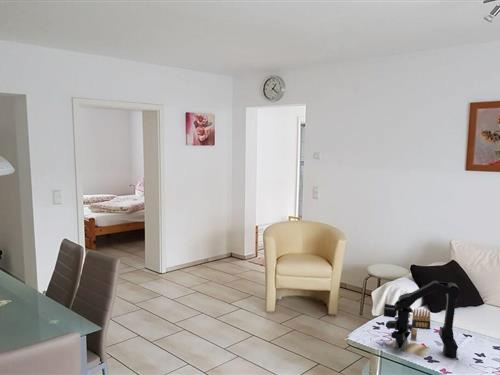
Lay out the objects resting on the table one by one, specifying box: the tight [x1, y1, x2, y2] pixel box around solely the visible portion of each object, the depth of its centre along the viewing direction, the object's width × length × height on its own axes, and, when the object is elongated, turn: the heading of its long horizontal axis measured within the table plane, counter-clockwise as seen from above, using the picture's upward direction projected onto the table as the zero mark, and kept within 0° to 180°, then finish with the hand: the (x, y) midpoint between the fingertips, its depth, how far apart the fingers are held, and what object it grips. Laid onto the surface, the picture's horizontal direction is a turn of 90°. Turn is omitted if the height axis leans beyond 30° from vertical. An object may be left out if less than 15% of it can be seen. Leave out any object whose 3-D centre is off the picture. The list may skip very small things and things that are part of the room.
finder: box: [394, 338, 409, 351], centre depth 225 cm, size 5×5×5 cm
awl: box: [410, 328, 418, 342], centre depth 235 cm, size 3×3×7 cm
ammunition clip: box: [411, 308, 431, 330], centre depth 254 cm, size 11×2×12 cm, turn 84°
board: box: [388, 339, 431, 358], centre depth 226 cm, size 18×14×1 cm
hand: (401, 346), depth 225 cm, fingers closed on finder, 5 cm apart
